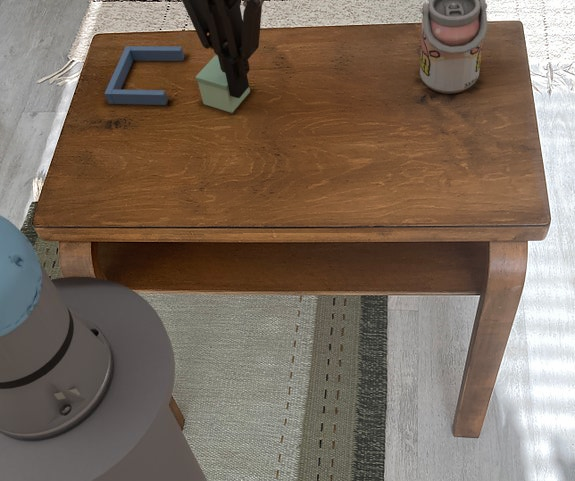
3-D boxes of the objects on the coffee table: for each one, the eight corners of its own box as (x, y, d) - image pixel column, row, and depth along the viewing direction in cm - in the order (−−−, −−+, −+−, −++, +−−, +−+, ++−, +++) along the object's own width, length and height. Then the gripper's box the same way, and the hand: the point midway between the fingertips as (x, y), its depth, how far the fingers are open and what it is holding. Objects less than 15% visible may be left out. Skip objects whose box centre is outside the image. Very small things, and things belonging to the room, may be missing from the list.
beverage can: (484, 99, 102) (494, 25, 93) (422, 104, 103) (425, 31, 93) (475, 56, 108) (483, -18, 98) (416, 61, 109) (418, -12, 99)
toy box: (202, 104, 108) (195, 77, 104) (221, 82, 110) (215, 54, 107) (232, 114, 106) (226, 86, 102) (251, 91, 108) (246, 63, 105)
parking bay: (184, 57, 115) (181, 46, 114) (166, 105, 109) (163, 94, 107) (129, 56, 117) (125, 45, 115) (108, 104, 110) (104, 93, 109)
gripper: (271, -77, 85) (293, 86, 103) (178, -94, 90) (215, 64, 109) (236, -42, 81) (266, 120, 100) (141, -62, 86) (186, 96, 105)
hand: (239, 91), depth 104 cm, fingers closed
